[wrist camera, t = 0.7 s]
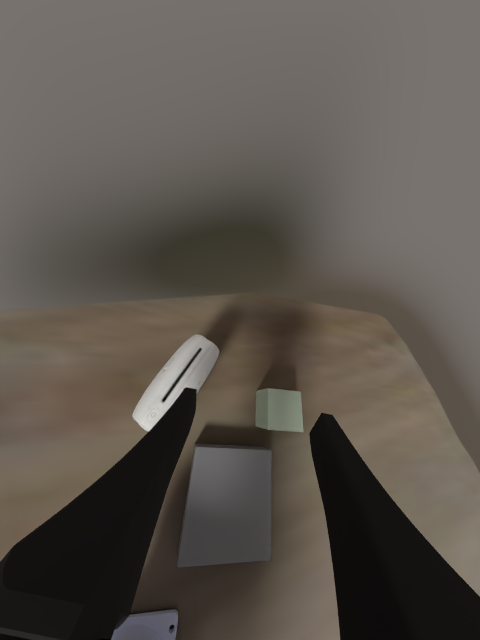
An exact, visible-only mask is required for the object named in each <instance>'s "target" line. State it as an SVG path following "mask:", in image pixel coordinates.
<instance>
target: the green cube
mask: <svg viewBox="0 0 480 640" xmlns="http://www.w3.org/2000/svg"><path fill="white" fill-rule="evenodd" d="M255 426H256V427H260V428H263V429H267V430H278V431H293V432H303V418H302V402H301V392H298V391H290V390H281V389H272V388H266V389H262V390H258V391H257V392H256V420H255Z"/></svg>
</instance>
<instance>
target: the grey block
mask: <svg viewBox="0 0 480 640" xmlns="http://www.w3.org/2000/svg"><path fill="white" fill-rule="evenodd" d="M271 476H272V450H270V449H268V448H266V447H261V446H240V445H220V444H200V443H195V445H194V452H193V458H192V464H191V471H190V477H189V484H188V490H187V496H186V503H185V509H184V516H183V522H182V529H181V535H180V541H179V548H178V562H177V568H181V567H193V566H206V565H218V564H231V563H243V562H256V561H268V560H271Z"/></svg>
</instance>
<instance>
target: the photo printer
mask: <svg viewBox="0 0 480 640" xmlns="http://www.w3.org/2000/svg"><path fill="white" fill-rule="evenodd" d="M218 356H219V349H218V348H217V346H216V345H215V344H214V343H213V342H211V341H209V340H207V339H206V338H205V337H204V336H201V335H193V336H192V337H191V338H189V339H188V340H186V341H185V342H184V343H183V344H182V346H181V347H180V348H179V349H178V350H177V351H176V352H175V353H174V355H173V356H172V357H171V358H170V359H169V361H168V362H167V363H166V364H165V365H164V367H163V368H162V369H161V371H160V372H159V373H158V374H157V376H156V377H155V378H154V380H153V381H152V382H151V384H150V385H149V387H148V388H147V389H146V391H145V392H144V394H143V396H142V397H141V399H140V401H139V402H138V404H137V406H136V408H135V410H134V412H133V415H132V416H133V418H134V419H135V420H136V421H137V422H138V423H139V425H140V426H141V427H142V428H143V429H145V430H146V431H148V432H149V431H150V430H151V429H152V428H153V426H154V425H155V424H156V423H157V422H158V421H159V420H160V419H161V417H162V416H163V415H164V414H165V413H166V412H167V410H168V409H169V408H170V407H171V406H172V404H173V403H174V402H175V400H176V399H177V398H178V397H179V395H180V394H181V392H182V391H183V389H184V388H186V387H188V388H193V389H197V393H198V391H199V390H200V388H201V386H202V385H203V383H204V382H205V380H206V378H207V377H208V375H209V373H210V372H211V370H212V368H213V367H214V365H215V363H216V361H217V358H218ZM197 393H196V394H197Z"/></svg>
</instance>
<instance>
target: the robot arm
mask: <svg viewBox="0 0 480 640" xmlns="http://www.w3.org/2000/svg"><path fill="white" fill-rule="evenodd" d="M196 393H197V389H193V388H188V387H186V388H184V389H183V391H182V392H181V394H180V395H179V397H178V398H177V399H176V400H175V402H174V403H173V404H172V406H171V407H170V408H169V409H168V410H167V412H166V413H165V414H164V415H163V416H162V417H161V419H160V420H159V421H158V422H157V423H156V424H155V425H154V426H153V428H152V429H151V430H150V431H149V432H148V433H147V434H146V435H145V436H144V437H143V438H142V439H141V440H140V441H139V442H138V443H137V444H136V445H135V446H134V447H133V448H132V449H131V450H130V451H129V452H128V453H127V454H126V455H125V456H124V457H123V458H122V459H121V460H120V461H119V462H117V463H116V464H115V465H114V466H113V467H112V468H111V469H110V470H109V471H107V472H106V473H105V474H104V475H103V476H102V477H101V478H99V479H98V480H97V481H96V482H95V483H94V484H92V485H91V486H90V487H89V488H87V489H86V490H85V491H84V492H83V493H81V494H80V495H79V496H78V497H76V498H75V499H74V500H73V501H72V502H70V503H69V504H68V505H67V506H65V507H64V508H63V509H62V510H60V511H59V512H58V513H56V514H55V515H54V516H52V517H51V518H50V519H48V520H47V521H46V522H45V523H43V524H42V525H41V526H39V527H38V528H37V529H35V530H34V531H33V532H31V533H30V534H29V535H27V536H26V537H25V538H23V539H22V540H21V541H19V542H18V543H17V544H16V545H14V546H13V548H12V549H11V550H10V551H9V552H8V553H7V555H6V556H5V557H4V558H3V559H2V560H1V562H0V640H175V639H176V632H177V624H178V611H177V610H176V609H172V610H164V611H156V612H148V613H140V614H132V615H129V614H130V610H131V607H132V603H133V600H134V596H135V593H136V589H137V586H138V583H139V579H140V576H141V572H142V569H143V566H144V562H145V559H146V556H147V552H148V549H149V546H150V542H151V539H152V536H153V532H154V529H155V526H156V523H157V520H158V516H159V513H160V510H161V507H162V504H163V500H164V497H165V494H166V491H167V488H168V485H169V482H170V479H171V477H172V474H173V472H174V469H175V467H176V464H177V462H178V459H179V457H180V454H181V452H182V449H183V447H184V444H185V442H186V439H187V436H188V434H189V431H190V428H191V425H192V422H193V418H194V415H195V411H196ZM309 434H310V444H311V452H312V457H313V462H314V466H315V471H316V475H317V479H318V484H319V488H320V492H321V497H322V501H323V505H324V510H325V515H326V521H327V528H328V535H329V541H330V548H331V556H332V563H333V571H334V579H335V588H336V597H337V606H338V616H339V628H340V639H341V640H480V597H479V596H478V595H477V594H476V592H475V591H474V590H473V589H472V588H471V587H470V586H469V585H468V584H467V583H466V582H465V581H464V580H463V579H462V578H461V577H460V576H459V575H458V574H457V573H456V572H455V570H454V569H453V568H452V567H451V566H450V565H449V564H448V563H447V562H446V561H445V560H444V559H443V558H442V556H441V555H440V554H439V553H438V552H437V551H436V550H435V549H434V548H433V546H432V545H431V544H430V543H429V542H428V541H427V540H426V539H425V537H424V536H423V535H422V534H421V533H420V532H419V531H418V530H417V528H416V527H415V526H414V525H413V524H412V523H411V521H410V520H409V519H408V518H407V517H406V515H405V514H404V513H403V512H402V511H401V509H400V508H399V507H398V506H397V504H396V503H395V502H394V501H393V500H392V498H391V497H390V496H389V495H388V493H387V492H386V491H385V489H384V488H383V487H382V485H381V484H380V483H379V481H378V480H377V479H376V478H375V476H374V475H373V474H372V472H371V471H370V469H369V468H368V467H367V465H366V464H365V462H364V461H363V460H362V458H361V457H360V455H359V454H358V452H357V451H356V450H355V448H354V447H353V445H352V444H351V442H350V441H349V439H348V438H347V436H346V435H345V433H344V432H343V430H342V429H341V427H340V426H339V424H338V423H337V421H336V420H335V418H334V417H333V415H330V414H325V413H321V415H320V416H319V418H318V420H317V421H316V423H315V425H314V426H313V428H312V430H311V431H310V433H309ZM171 625H174V628H173V629H170V628H169V627H170V626H171Z"/></svg>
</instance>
